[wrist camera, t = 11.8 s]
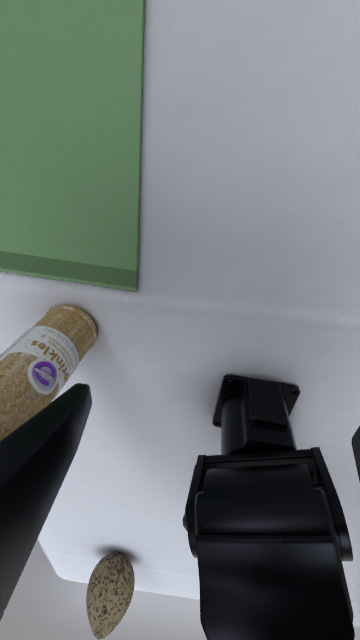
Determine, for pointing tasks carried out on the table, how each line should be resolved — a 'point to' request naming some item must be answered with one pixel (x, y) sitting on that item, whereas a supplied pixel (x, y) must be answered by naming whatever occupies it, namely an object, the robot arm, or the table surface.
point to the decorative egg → (109, 593)
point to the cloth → (71, 139)
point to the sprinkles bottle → (42, 363)
